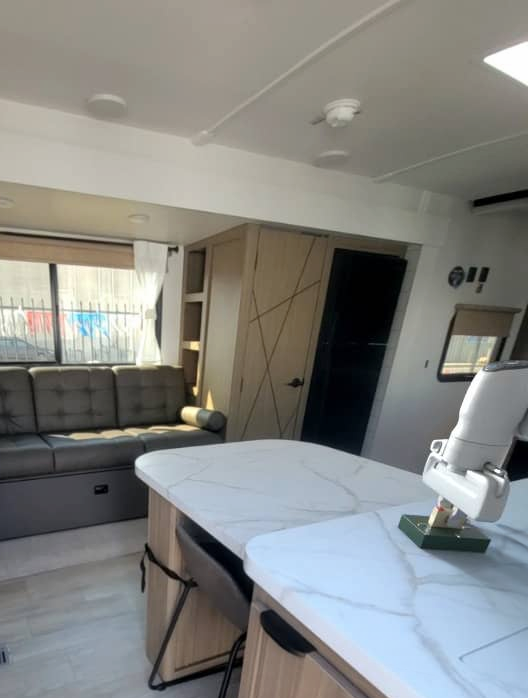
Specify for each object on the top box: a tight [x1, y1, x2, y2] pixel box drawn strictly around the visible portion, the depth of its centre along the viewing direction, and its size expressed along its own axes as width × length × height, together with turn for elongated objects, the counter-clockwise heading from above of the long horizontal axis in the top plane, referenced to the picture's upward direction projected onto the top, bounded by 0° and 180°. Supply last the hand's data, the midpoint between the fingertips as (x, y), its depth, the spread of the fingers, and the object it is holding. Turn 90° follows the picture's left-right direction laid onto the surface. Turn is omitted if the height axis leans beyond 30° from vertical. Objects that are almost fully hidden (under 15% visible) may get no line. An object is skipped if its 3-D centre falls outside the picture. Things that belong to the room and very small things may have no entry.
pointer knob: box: [428, 505, 468, 529], centre depth 79 cm, size 6×2×4 cm, turn 83°
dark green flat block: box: [397, 513, 492, 554], centre depth 81 cm, size 12×10×3 cm
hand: (446, 522), depth 80 cm, fingers closed on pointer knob, 2 cm apart
